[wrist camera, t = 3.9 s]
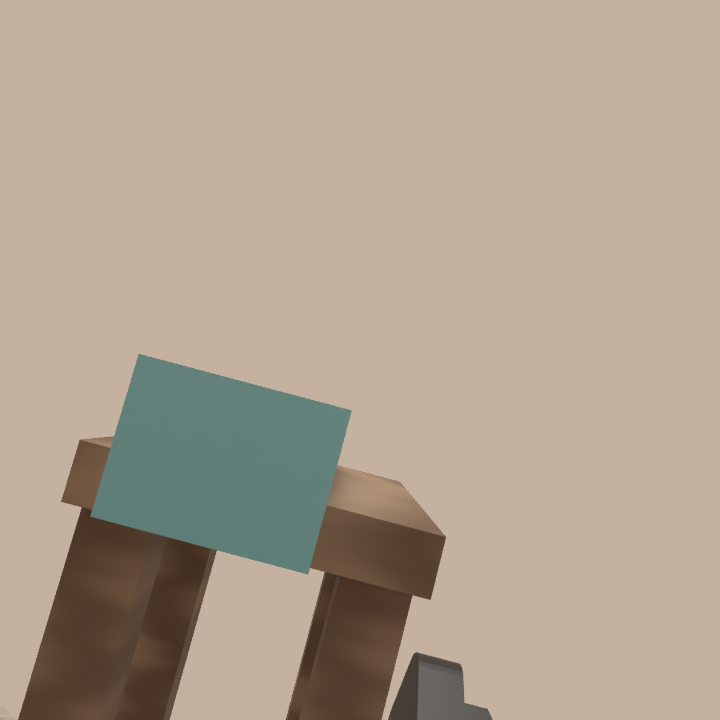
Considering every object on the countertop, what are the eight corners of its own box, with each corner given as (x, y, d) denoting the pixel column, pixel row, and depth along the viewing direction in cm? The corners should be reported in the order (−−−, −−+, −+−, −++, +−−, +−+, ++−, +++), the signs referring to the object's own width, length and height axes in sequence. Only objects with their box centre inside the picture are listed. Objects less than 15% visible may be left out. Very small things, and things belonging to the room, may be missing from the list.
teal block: (90, 516, 11) (138, 353, 12) (262, 448, 35) (276, 395, 36) (308, 574, 11) (351, 410, 12) (332, 466, 35) (346, 414, 36)
